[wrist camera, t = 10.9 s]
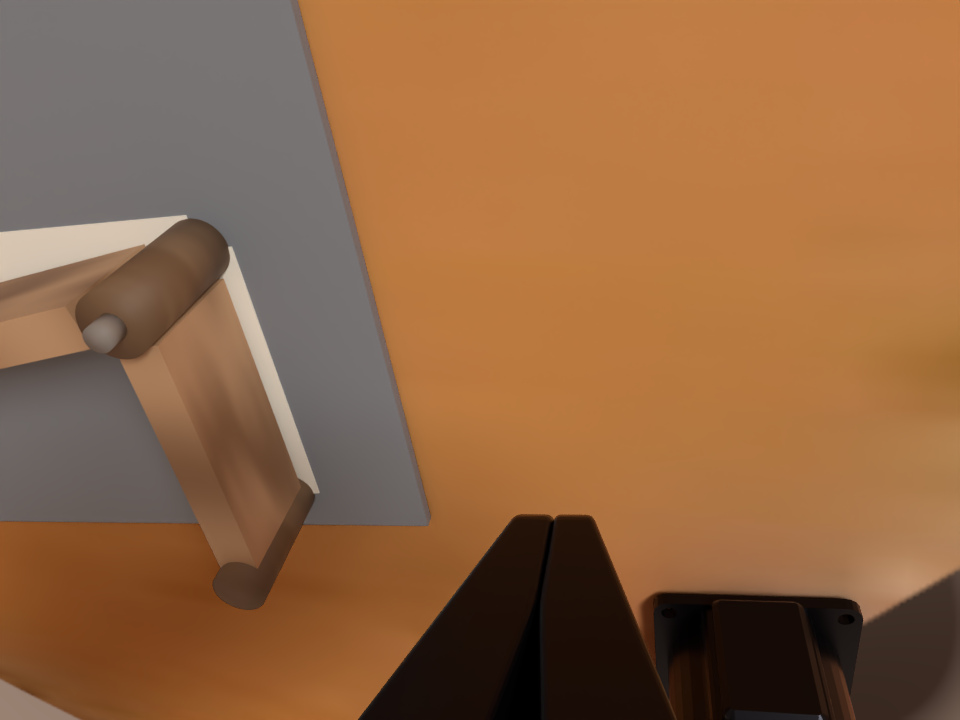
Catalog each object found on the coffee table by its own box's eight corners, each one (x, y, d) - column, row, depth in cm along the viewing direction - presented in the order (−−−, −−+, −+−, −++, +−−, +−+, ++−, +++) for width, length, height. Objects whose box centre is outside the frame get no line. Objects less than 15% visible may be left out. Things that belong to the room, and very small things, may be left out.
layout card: (430, 517, 26) (428, 526, 25) (-30, 513, 30) (-38, 521, 29) (169, -496, 13) (155, -507, 13) (-563, -253, 17) (-589, -256, 17)
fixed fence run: (327, 501, 26) (266, 628, 22) (279, 501, 26) (211, 625, 22) (224, 210, 20) (115, 302, 16) (165, 215, 21) (45, 307, 16)
